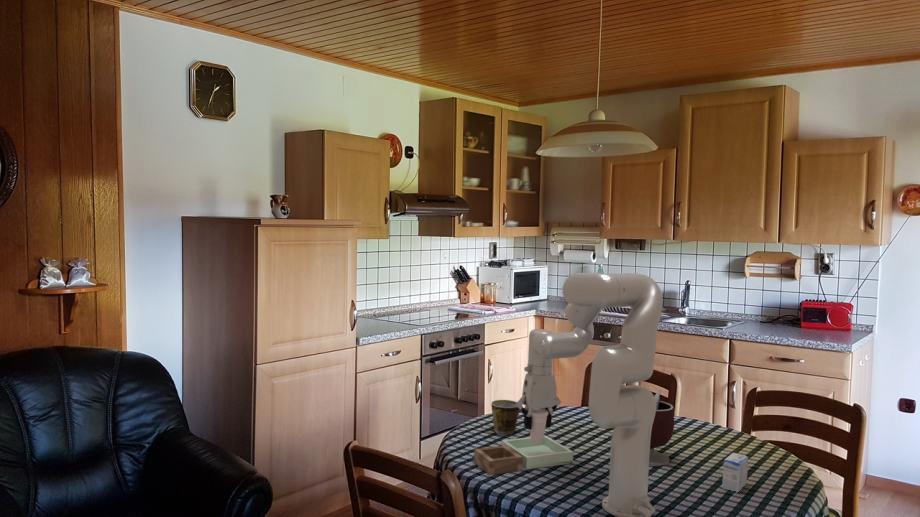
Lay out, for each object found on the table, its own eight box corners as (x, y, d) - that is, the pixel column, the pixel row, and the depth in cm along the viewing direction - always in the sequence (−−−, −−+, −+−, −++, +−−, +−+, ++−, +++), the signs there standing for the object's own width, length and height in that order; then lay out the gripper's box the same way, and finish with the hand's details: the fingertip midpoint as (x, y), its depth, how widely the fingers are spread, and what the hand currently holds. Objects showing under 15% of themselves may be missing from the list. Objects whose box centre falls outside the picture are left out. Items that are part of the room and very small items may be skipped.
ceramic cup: (496, 425, 230) (497, 398, 229) (523, 430, 226) (524, 402, 225) (482, 436, 218) (483, 406, 218) (509, 441, 214) (510, 411, 213)
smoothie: (546, 446, 196) (548, 400, 195) (525, 443, 197) (527, 398, 196) (547, 439, 202) (549, 395, 201) (527, 437, 203) (529, 393, 203)
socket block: (522, 470, 188) (522, 457, 188) (489, 475, 184) (490, 461, 184) (505, 458, 198) (505, 445, 198) (473, 462, 193) (474, 449, 193)
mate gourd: (665, 470, 192) (668, 404, 191) (620, 460, 200) (623, 396, 199) (678, 455, 205) (681, 393, 204) (635, 446, 213) (638, 386, 212)
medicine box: (730, 481, 185) (732, 452, 185) (746, 486, 182) (748, 455, 182) (721, 489, 179) (723, 459, 179) (738, 494, 176) (740, 463, 176)
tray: (572, 463, 196) (573, 451, 195) (526, 469, 189) (527, 457, 189) (544, 446, 210) (545, 435, 210) (501, 451, 204) (501, 440, 203)
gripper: (521, 374, 191) (518, 434, 192) (570, 370, 198) (567, 428, 199) (509, 368, 198) (507, 426, 199) (557, 365, 205) (554, 421, 206)
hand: (537, 426), depth 199 cm, fingers closed on smoothie, 6 cm apart
